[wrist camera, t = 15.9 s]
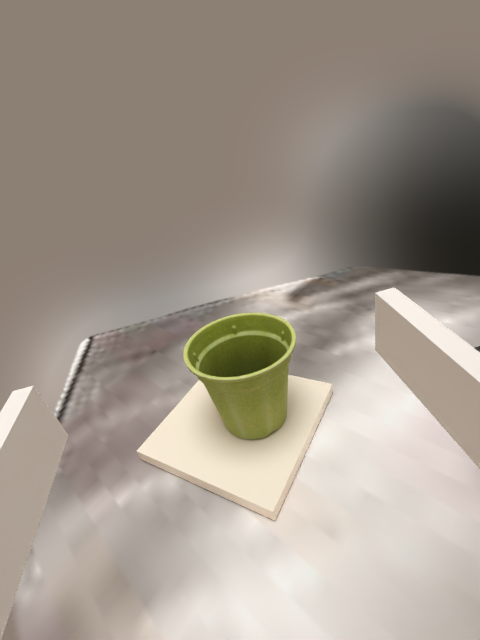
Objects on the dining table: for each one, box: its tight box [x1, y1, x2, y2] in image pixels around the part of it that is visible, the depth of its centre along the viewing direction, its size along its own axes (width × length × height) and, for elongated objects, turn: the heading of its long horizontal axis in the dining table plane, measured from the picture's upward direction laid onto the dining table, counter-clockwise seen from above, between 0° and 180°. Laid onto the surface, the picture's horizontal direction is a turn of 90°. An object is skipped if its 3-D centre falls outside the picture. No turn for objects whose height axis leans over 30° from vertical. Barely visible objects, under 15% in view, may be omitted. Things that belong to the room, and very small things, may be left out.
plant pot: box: [183, 313, 296, 440], centre depth 31 cm, size 9×9×9 cm
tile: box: [137, 375, 333, 521], centre depth 34 cm, size 14×14×1 cm
